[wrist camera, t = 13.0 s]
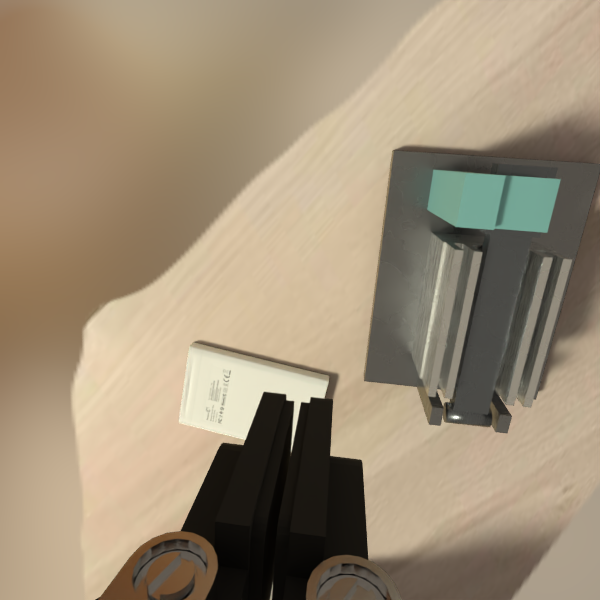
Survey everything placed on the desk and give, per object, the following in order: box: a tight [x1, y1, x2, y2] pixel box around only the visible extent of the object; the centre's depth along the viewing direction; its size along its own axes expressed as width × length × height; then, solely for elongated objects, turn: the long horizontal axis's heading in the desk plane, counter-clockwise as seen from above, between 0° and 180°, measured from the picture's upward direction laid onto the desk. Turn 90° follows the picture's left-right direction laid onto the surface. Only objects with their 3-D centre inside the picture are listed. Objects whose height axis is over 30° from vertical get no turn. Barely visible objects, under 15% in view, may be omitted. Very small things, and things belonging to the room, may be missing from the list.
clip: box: [427, 170, 561, 233], centre depth 26 cm, size 3×5×8 cm, turn 86°
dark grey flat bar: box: [443, 163, 558, 427], centre depth 27 cm, size 18×3×1 cm, turn 176°
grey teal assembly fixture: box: [364, 151, 600, 433], centre depth 29 cm, size 18×14×7 cm
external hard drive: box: [179, 342, 329, 452], centre depth 38 cm, size 2×8×12 cm
